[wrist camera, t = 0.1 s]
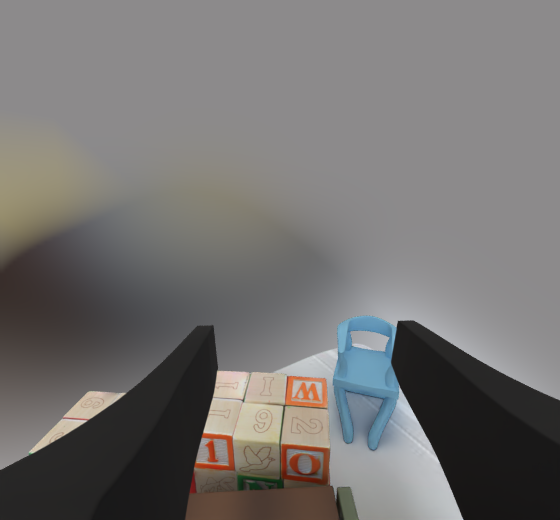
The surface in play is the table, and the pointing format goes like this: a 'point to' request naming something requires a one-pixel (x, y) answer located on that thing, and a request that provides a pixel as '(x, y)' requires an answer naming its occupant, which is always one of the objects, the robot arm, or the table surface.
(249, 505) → the cupboard
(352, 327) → the chair
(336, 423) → the table surface
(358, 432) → the table surface
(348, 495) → the cupboard door
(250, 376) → the stack of blocks
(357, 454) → the table surface
